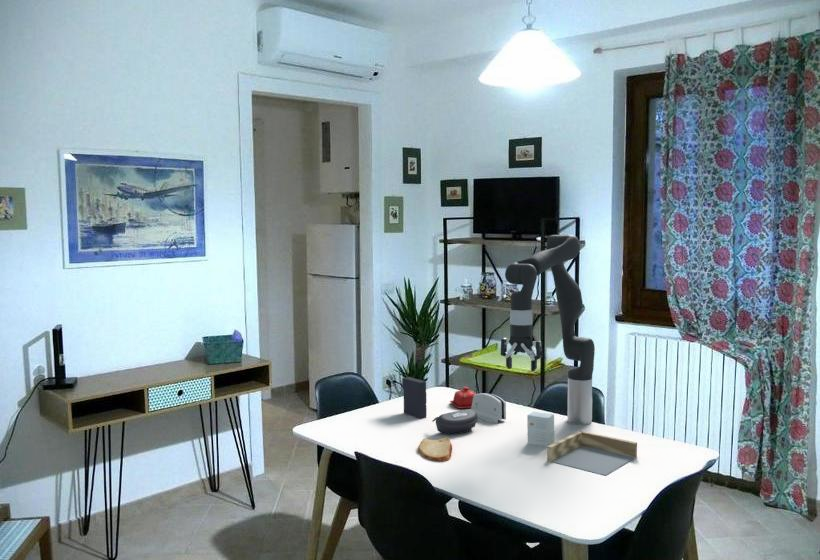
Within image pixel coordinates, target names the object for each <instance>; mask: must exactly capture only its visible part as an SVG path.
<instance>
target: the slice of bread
mask: <svg viewBox="0 0 820 560" xmlns="http://www.w3.org/2000/svg"><path fill="white" fill-rule="evenodd" d="M418 453H419V454H420V455H421V457H422V458H423V459H426V460H428V461H432V462H438V463H445V462H449V461H450V460H451V457H452V453H453V445H452V442H451V439H450V438H449V437H448V436H447V437H443V438H439V439H430V438H423V439H422V440H421V441H420V443H419V445H418Z"/></svg>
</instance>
